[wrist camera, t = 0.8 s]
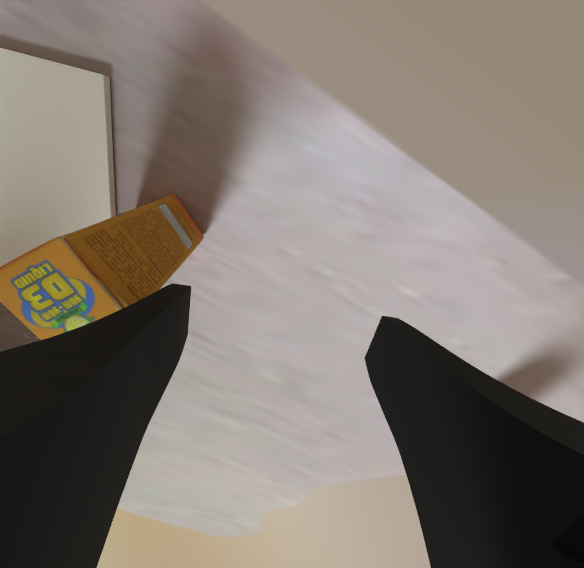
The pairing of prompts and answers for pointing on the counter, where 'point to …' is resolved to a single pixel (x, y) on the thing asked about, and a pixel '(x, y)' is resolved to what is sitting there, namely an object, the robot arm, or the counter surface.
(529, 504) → the robot arm
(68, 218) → the cutting board
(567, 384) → the counter surface
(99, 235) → the supplement box
